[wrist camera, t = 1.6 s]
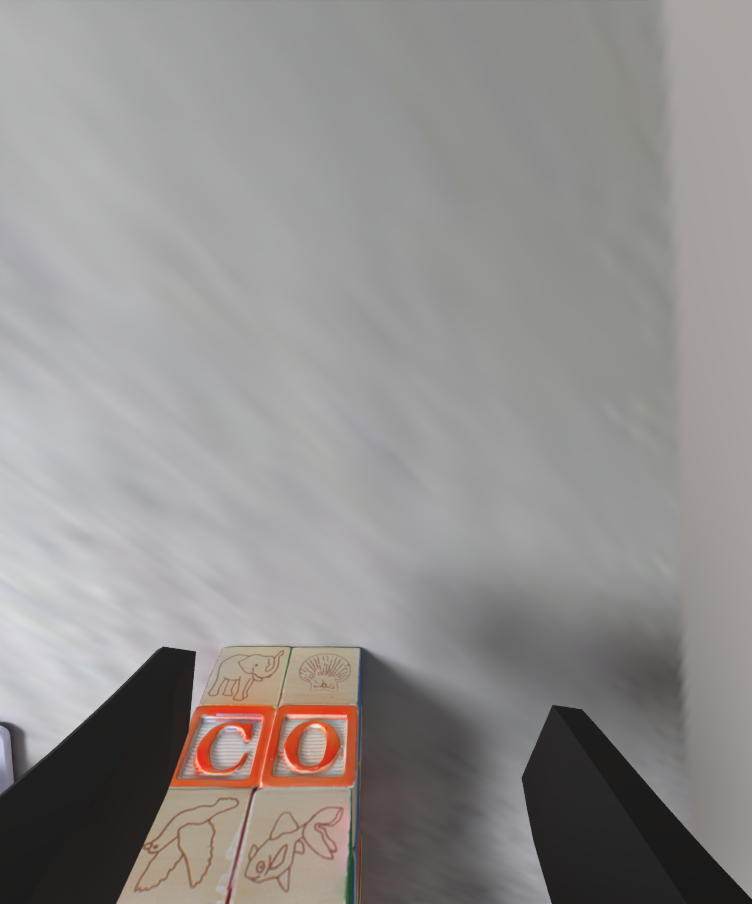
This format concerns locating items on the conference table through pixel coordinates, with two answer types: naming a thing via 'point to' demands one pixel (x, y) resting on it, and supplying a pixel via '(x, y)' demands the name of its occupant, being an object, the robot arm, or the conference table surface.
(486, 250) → the conference table surface
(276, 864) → the stack of blocks
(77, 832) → the robot arm
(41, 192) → the conference table surface
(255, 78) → the conference table surface
